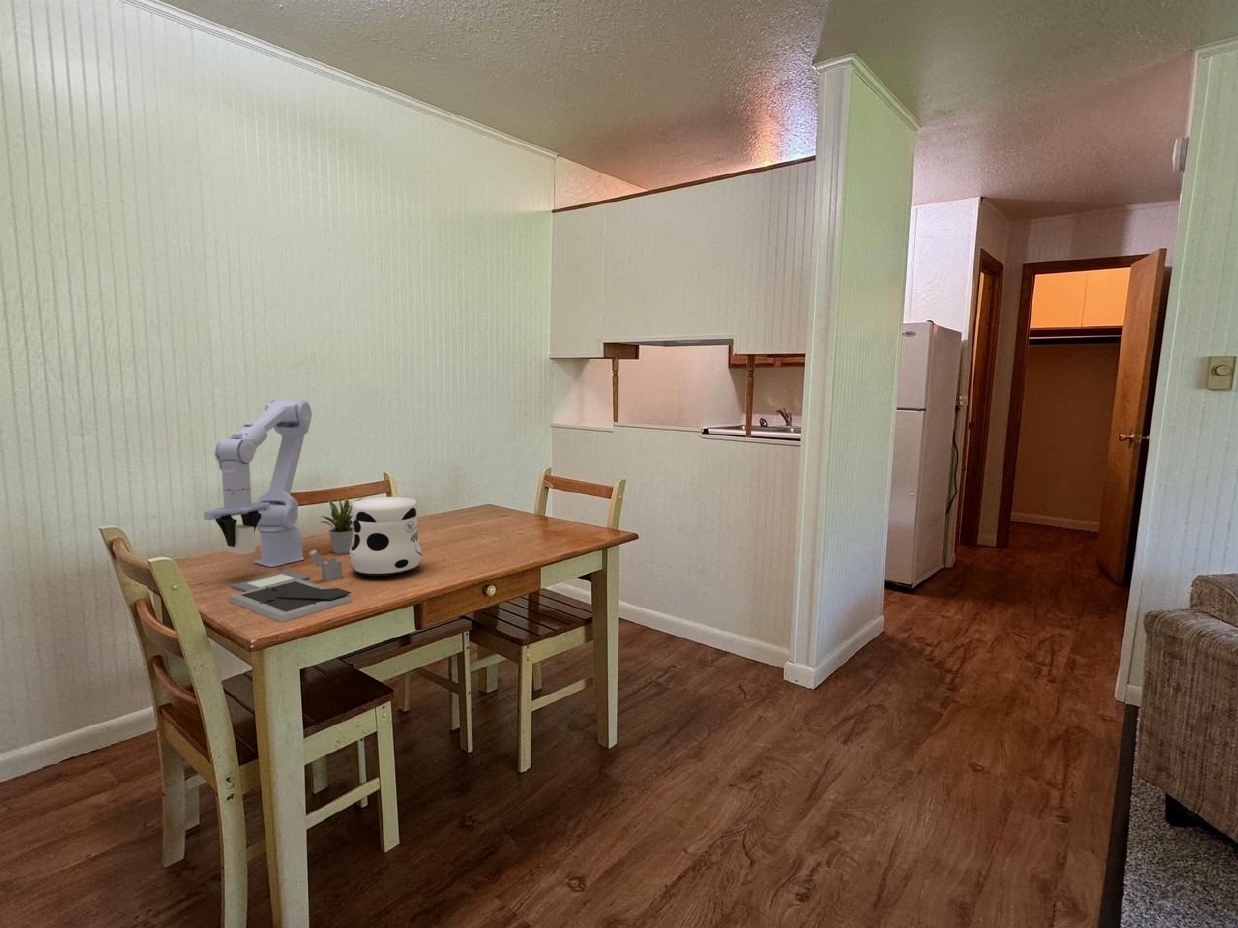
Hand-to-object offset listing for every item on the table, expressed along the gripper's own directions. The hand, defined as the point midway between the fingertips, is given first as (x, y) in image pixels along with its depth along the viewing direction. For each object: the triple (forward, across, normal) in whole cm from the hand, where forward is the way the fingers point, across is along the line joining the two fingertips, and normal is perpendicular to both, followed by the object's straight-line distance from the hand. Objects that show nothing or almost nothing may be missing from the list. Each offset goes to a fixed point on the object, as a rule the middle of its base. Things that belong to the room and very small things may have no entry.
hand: (240, 544), depth 158 cm
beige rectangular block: (+2, 0, 0) cm, 2 cm away
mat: (+9, +2, -9) cm, 13 cm away
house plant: (+9, +31, +2) cm, 32 cm away
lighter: (+9, +11, -17) cm, 22 cm away
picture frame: (+10, -3, -25) cm, 27 cm away
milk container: (+9, +24, -23) cm, 34 cm away
